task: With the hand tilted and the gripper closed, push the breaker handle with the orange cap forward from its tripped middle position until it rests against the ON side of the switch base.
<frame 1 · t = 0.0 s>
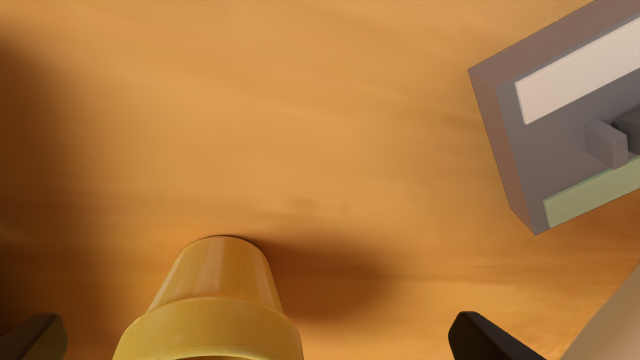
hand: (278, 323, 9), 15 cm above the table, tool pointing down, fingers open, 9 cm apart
plant pot: (223, 267, 28), on the table
switch base: (598, 94, 24), on the table
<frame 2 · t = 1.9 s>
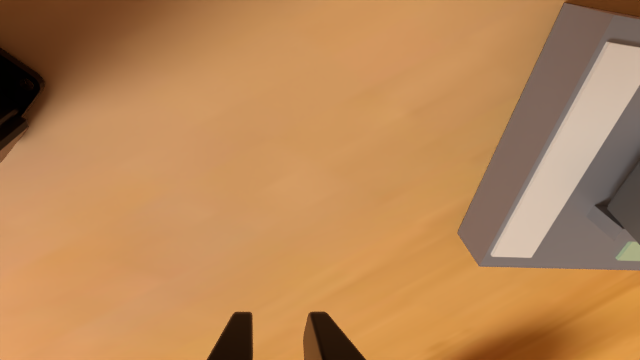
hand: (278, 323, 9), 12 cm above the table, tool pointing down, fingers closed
switch base: (590, 146, 22), on the table
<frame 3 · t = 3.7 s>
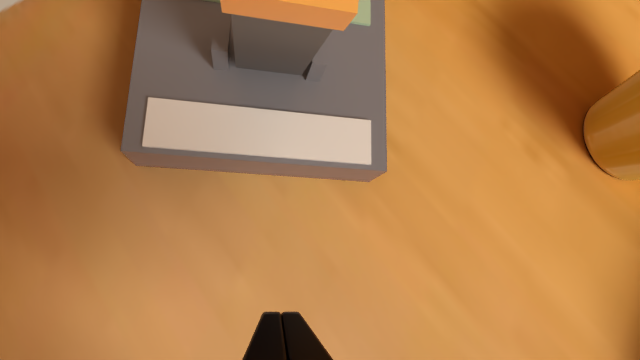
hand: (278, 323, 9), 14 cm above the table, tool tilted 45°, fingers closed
plant pot: (615, 138, 30), on the table
switch base: (265, 83, 24), on the table
breaker handle: (277, 23, 16), point 8 cm above the table, hinge at -15.0°
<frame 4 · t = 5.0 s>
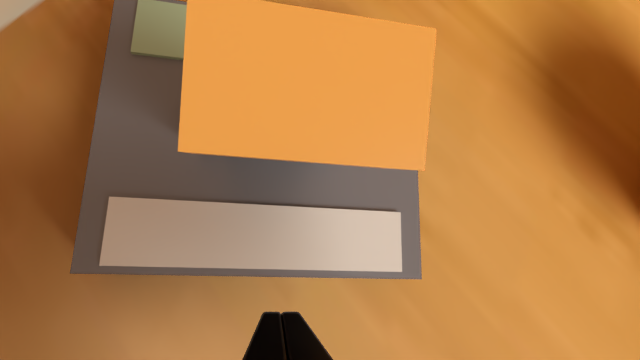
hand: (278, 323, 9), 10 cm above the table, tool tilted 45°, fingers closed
switch base: (264, 154, 20), on the table
breaker handle: (282, 120, 11), point 8 cm above the table, hinge at -15.0°
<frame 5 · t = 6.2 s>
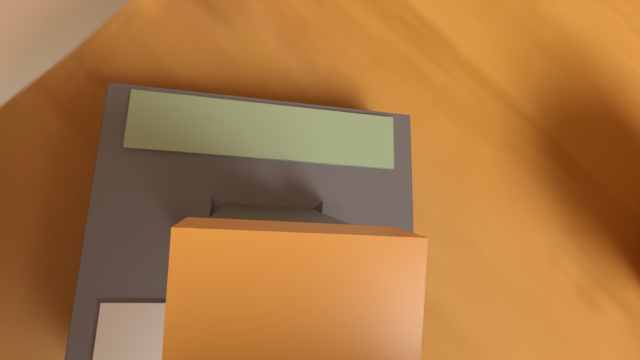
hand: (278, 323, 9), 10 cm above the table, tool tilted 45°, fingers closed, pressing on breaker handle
switch base: (259, 233, 19), on the table
breaker handle: (274, 249, 11), point 8 cm above the table, hinge at -11.8°, touching gripper
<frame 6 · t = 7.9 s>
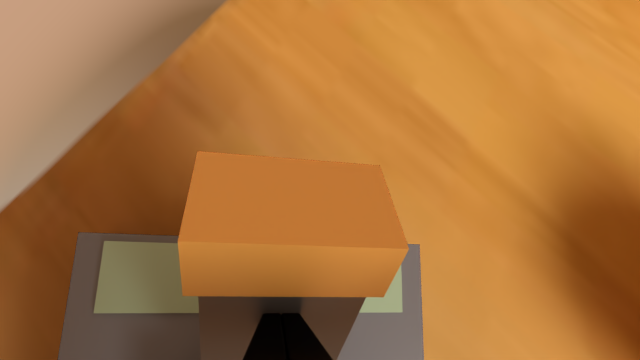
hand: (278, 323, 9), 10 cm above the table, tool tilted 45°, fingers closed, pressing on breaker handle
breaker handle: (269, 330, 11), point 8 cm above the table, hinge at 35.9°, touching gripper
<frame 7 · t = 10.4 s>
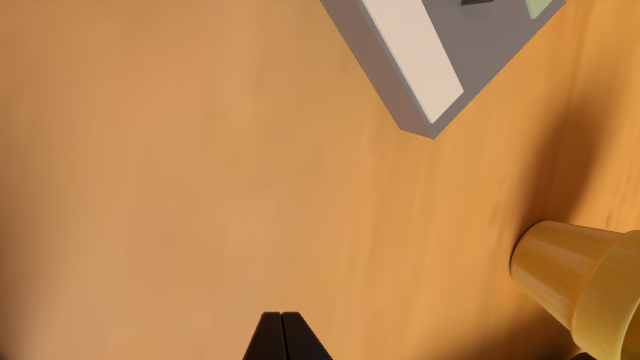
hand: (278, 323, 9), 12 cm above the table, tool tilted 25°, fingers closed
plant pot: (532, 251, 35), on the table
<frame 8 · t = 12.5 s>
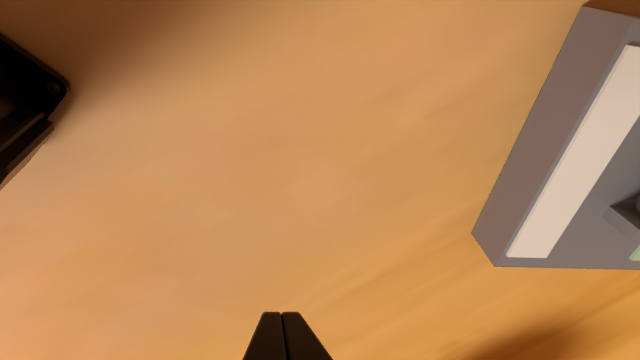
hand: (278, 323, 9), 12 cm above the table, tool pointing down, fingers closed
switch base: (605, 147, 23), on the table
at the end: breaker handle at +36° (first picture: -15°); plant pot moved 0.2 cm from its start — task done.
